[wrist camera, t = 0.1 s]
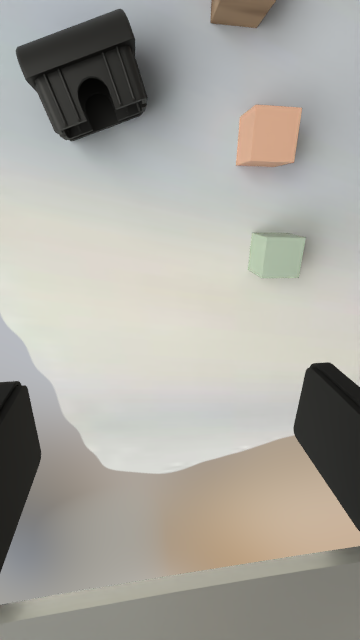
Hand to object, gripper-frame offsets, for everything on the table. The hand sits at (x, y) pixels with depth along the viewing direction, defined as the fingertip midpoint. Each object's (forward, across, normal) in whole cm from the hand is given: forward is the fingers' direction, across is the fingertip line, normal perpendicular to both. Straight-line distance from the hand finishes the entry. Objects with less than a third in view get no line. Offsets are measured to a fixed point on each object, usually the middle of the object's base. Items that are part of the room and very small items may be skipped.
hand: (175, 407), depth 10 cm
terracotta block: (+31, -14, -13) cm, 37 cm away
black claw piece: (+31, +5, -17) cm, 36 cm away
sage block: (+31, -17, 0) cm, 36 cm away
